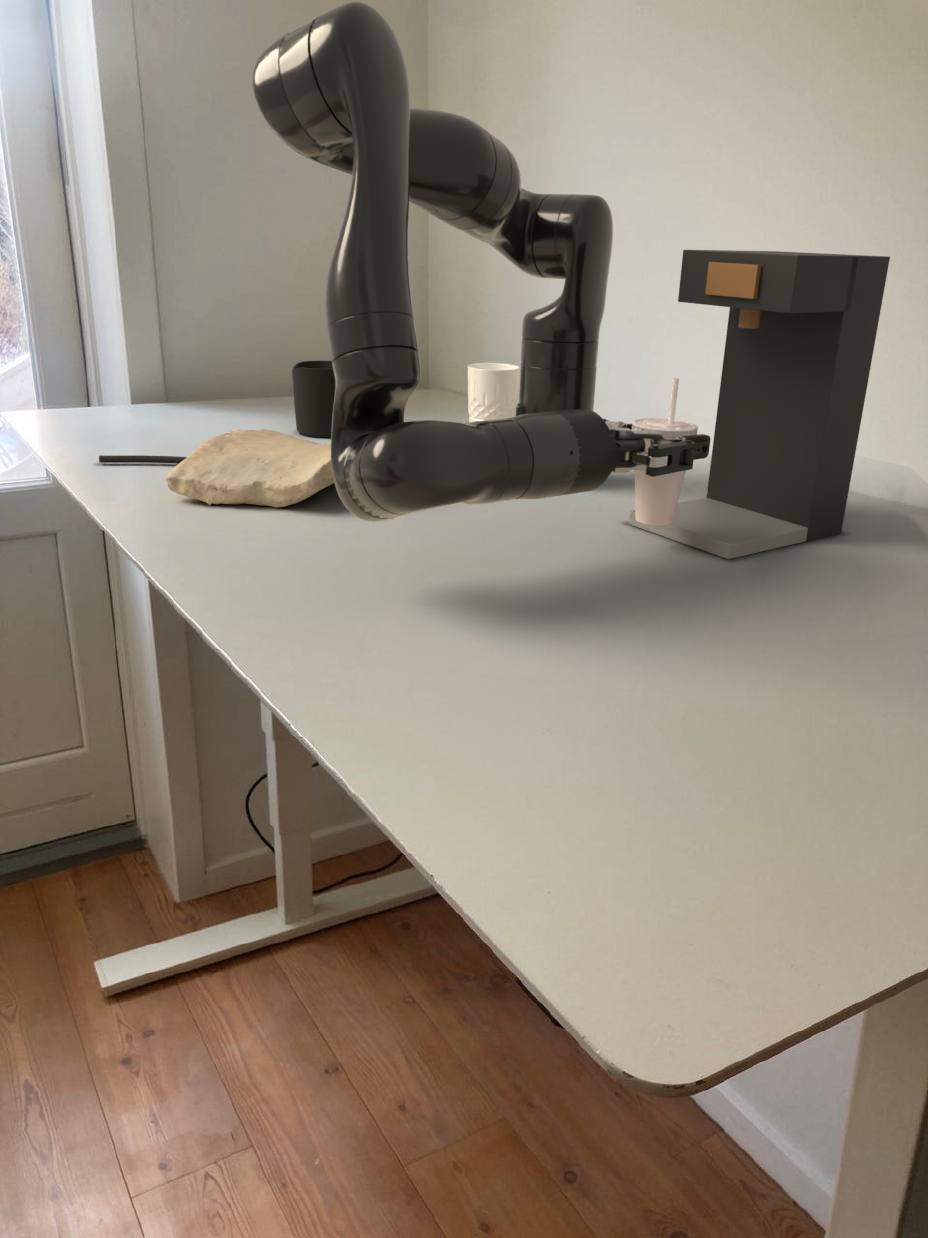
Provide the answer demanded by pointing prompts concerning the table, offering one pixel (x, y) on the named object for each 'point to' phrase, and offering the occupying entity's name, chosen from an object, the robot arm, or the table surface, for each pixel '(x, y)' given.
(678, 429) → the smoothie
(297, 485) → the beige stone slab
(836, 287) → the coffee maker
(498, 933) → the table surface
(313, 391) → the pen holder
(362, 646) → the table surface
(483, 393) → the white cup
